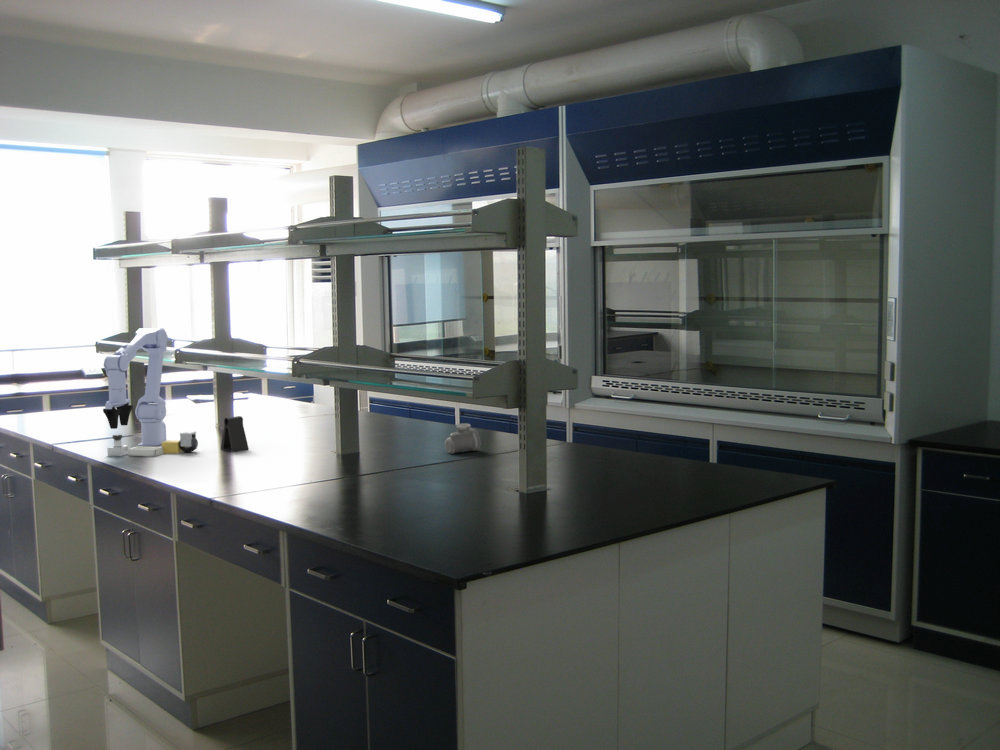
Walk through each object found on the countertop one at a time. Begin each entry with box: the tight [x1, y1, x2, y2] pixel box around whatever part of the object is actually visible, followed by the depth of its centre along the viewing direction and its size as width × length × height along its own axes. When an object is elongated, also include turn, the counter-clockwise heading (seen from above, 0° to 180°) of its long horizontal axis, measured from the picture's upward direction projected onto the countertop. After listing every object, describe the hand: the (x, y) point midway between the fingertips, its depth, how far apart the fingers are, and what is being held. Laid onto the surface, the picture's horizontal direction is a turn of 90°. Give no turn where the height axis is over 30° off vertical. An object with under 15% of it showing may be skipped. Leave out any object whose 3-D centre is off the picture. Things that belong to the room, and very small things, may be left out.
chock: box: [161, 439, 183, 454], centre depth 325 cm, size 4×6×4 cm, turn 83°
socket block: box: [107, 444, 129, 457], centre depth 320 cm, size 5×5×3 cm
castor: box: [178, 430, 199, 454], centre depth 324 cm, size 4×6×7 cm
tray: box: [128, 445, 165, 457], centre depth 320 cm, size 6×10×2 cm, turn 83°
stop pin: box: [112, 434, 123, 447], centre depth 320 cm, size 3×3×7 cm
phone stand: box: [220, 415, 250, 453], centre depth 328 cm, size 9×6×12 cm, turn 49°
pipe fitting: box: [444, 422, 482, 455], centre depth 320 cm, size 12×8×10 cm
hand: (119, 426), depth 319 cm, fingers open, 7 cm apart
